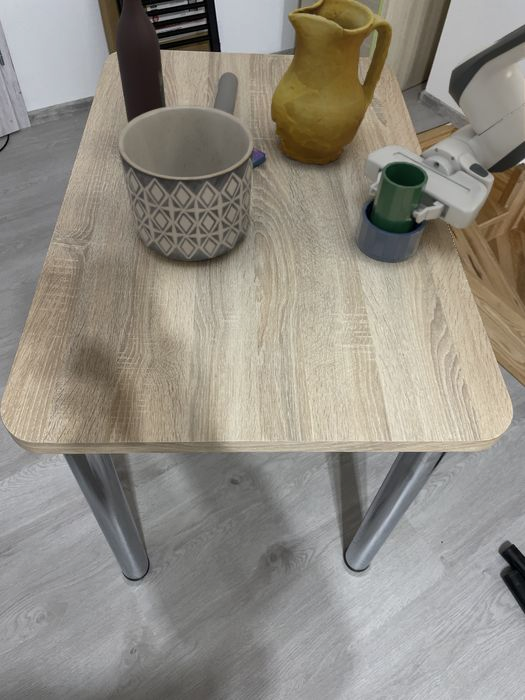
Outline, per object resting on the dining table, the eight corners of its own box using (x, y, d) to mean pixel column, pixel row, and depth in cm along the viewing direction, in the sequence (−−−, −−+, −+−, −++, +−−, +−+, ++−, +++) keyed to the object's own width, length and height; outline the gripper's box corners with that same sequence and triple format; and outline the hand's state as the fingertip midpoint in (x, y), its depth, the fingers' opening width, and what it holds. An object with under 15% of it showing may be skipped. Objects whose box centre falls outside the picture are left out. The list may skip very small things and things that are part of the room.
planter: (199, 182, 98) (194, 92, 85) (274, 233, 90) (281, 143, 77) (110, 227, 89) (90, 134, 76) (185, 289, 81) (177, 197, 68)
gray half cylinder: (238, 80, 122) (238, 72, 121) (231, 126, 110) (231, 117, 109) (219, 79, 122) (219, 71, 121) (210, 124, 110) (210, 116, 109)
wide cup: (420, 230, 92) (430, 203, 88) (412, 269, 86) (421, 242, 82) (362, 216, 94) (368, 189, 89) (349, 253, 88) (355, 226, 83)
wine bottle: (174, 161, 102) (156, -24, 78) (136, 166, 100) (107, -21, 76) (165, 141, 106) (146, -41, 82) (129, 146, 104) (99, -38, 80)
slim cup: (410, 229, 91) (430, 167, 81) (403, 255, 87) (424, 192, 77) (370, 220, 92) (386, 157, 82) (362, 245, 88) (378, 182, 78)
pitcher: (279, 114, 113) (295, -21, 93) (365, 135, 111) (402, 2, 91) (256, 161, 103) (269, 20, 83) (351, 185, 101) (388, 47, 81)
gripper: (397, 127, 92) (345, 157, 85) (504, 181, 83) (455, 219, 77) (388, 160, 97) (339, 191, 90) (488, 215, 88) (442, 252, 82)
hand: (393, 204), depth 83 cm, fingers closed on slim cup, 7 cm apart
